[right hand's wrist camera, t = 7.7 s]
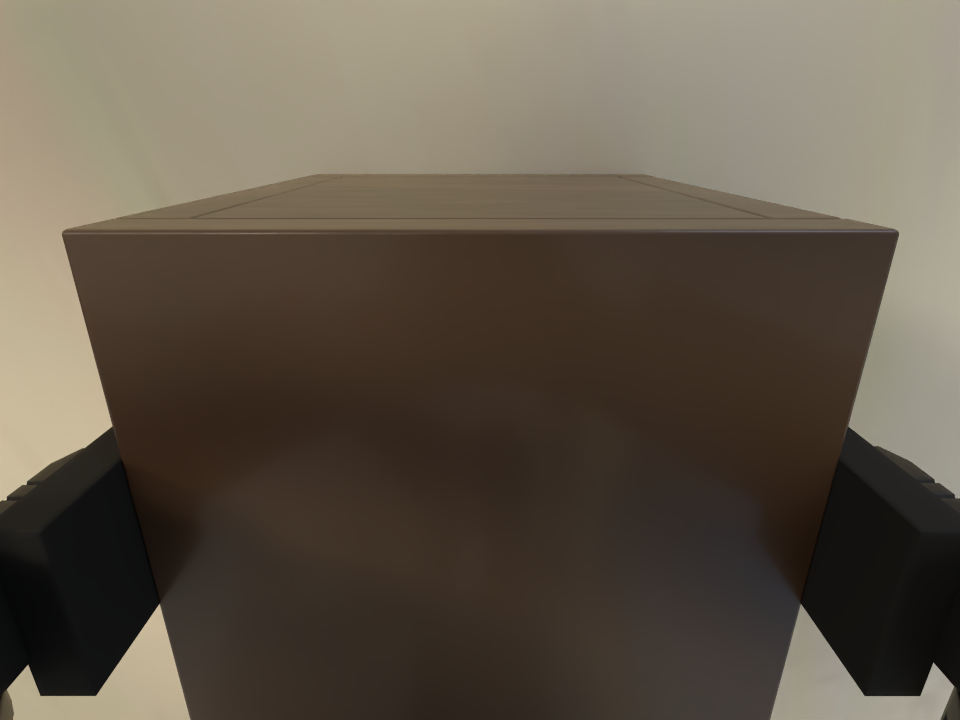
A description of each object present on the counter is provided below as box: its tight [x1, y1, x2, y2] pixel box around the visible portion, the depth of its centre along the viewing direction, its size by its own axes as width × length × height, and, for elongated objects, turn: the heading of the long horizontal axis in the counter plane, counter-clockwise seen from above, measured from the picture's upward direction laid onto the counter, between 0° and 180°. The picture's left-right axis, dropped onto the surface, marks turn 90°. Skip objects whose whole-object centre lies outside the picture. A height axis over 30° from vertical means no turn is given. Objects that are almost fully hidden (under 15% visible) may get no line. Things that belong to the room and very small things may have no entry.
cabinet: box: [62, 175, 899, 720], centre depth 16 cm, size 20×10×12 cm, turn 0°
